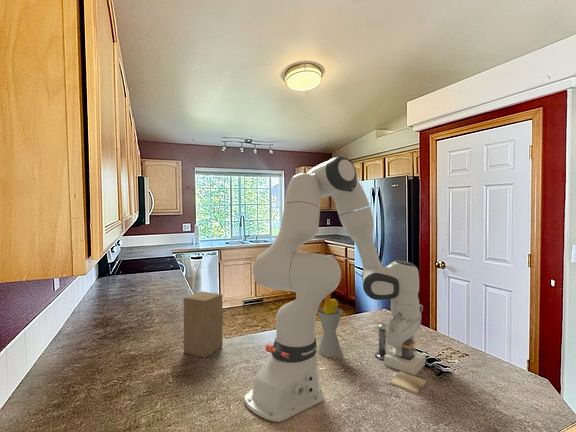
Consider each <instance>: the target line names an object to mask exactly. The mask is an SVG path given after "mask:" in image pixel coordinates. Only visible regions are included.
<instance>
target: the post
mask: <svg viewBox="0 0 576 432" xmlns="http://www.w3.org/2000/svg"><path fill="white" fill-rule="evenodd" d="M387 353H388V352H387V329H386V330H381V329H378V351H376V352H375V353H374V358H376V359H378V360H381V361H384V356H385V355H386V354H387Z"/></svg>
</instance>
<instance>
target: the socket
mask: <svg viewBox="0 0 576 432" xmlns="http://www.w3.org/2000/svg"><path fill="white" fill-rule="evenodd" d="M386 353H387V354H386V355H385V356H384V360H383V365H384V366H386V367H389V368H393V369H394V370H395V369H396V370H398V371H399V372H400V371H401V372H404V373H406V374H409V375H412V376H416V375H417V374H418V373H419V372H420V371H421V370H422V368H424V366H425V365H426V364H425V362H427V354H423V353H421V352H418V351H414V355H413V358H412V359H411V360H406V359H403V358H400V357H397V355H396V349H395V347H394V348H392V349H391V350H390V351H389V352H386Z"/></svg>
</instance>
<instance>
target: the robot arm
mask: <svg viewBox="0 0 576 432" xmlns="http://www.w3.org/2000/svg"><path fill="white" fill-rule="evenodd" d="M357 175H358V174H357V170H356V167H355V164H354V163H353V162H352V161H351V160H350V159H349V158H347V157H345V156H335V157H332V158H330V159H329V160H327V161H324V162H322V163H319V164H317V165H315V166H313V167H312V168H310V170H308V171H306V172H301V173H298V174H295V175H293V176H292V177H291V179H290V180H289V184H288V186H287V189H286V194H285V198H284V202H283V203H284V204H283V212H282V218H281V223H280V228H279V230H278V231H279V232H278V234H277V236H276V238H275V240H274V241H273V242H272V244H271V245H269V247H268V248H267V249H266V250H264V251H263V252H261V253H260V254H258V255H257V257H256V258H255V260H254V262H253V265H252V269H251V270H252V271H251V272H252V277H253V280H254V282H256V284H257V285H258V286H260V287H263V288H266V289H269V290H276V291H286V292H295V299H294V300H292V301H289V302H287V303H285V304H283V305H281V306H280V308H279V309H278V310H277V313H276V316H275V318H276V320H275V321H276V322H275V324H276V329H275V330H276V334H275V335H276V336H275V338H274V341H273V345H272V344H270V343H267V344H266V345H265V347H264V350H265V352H267V353H270V354H271V355H270V356H269V357H268V358H267V360H266V362H265V363H264V364H263V365H262V367H261V368H260V370H259V371H258V372H257V374H255V377H254V379H253V385H252V389H251V390H249V391H248V392H247V393H246V394H244V396H243V402H244V404H245V406H246V408H248V409H249V410H250V411H252V413H254V414H255V415H257V416H259V417H261V418H263V419H265V420H268V421H271V422H274V423H275V422H276V423H277V422H278V423H281V422H284V421H286V420H288V419H290V418H292V417H293V416H296V415H297V414H299V413H301V412H304V411H305V410H307V409H309V408H311V407H314V406H316V405H318V404H320V403H321V402H323V401H324V394H323V393H322V391H321V389H322V387H321V382H320V371H319V366H318V361H317V358H316V353H317V349H318V348H317V347H318V344H317V339H316V319H317V314H318V311H317V310H318V308H320V305H321V303H322V302H323V300H325V297H326V296H327V295H328V294H330V293H331V292H332V293H333V292H335V290H336V289H337V287H338V286H340V285H339V284H340V283H341V280H342V269H341V266H340V264H339V262H338V260H337V259H336V258H335V256H334V257H330V256H327V255H328V254H321V253H314V252H313V253H312V252H311V253H310V252H298V251H299V249H300V248H301V247H302V246H303V245H304V244H305V243H307V242H311V241H312V240H313V239H314V238H315V237H316V236H317V235H318V233H319V225H320V214H321V199H324V198H327V197H331V198H332V200H333V201H334V202H335V203H334V204H335V207H336V211H337V215H338V218H339V221H340V223H341V225H342V228H343V230H344V232H345V233H346V235H347V236H348V237H349V238H350V239H351V240H352V241H353V243H354V244H355V246H356V248H357V251H358V254H359V257H360V261H361V264H362V273H361V274H362V275H361V278H362V280H361V281H362V288H363V291H364V293H365V295H366V296H367V297H369V298H370V299H372V300H373V301H374V300H375V301H384V300H390V314H391V316H392V318H393V319H392V318H391V319H392V320H390V319H389V320H390V322H389V324H388V327H387V332H386V343H387V344H388V346H391V347H394V348H395V349H396V355H397V356H400V357H401V356H402V355H403V350H402V347H401V346H402V344H403V343H404V342H405V341H407V340H408V339H411V340H414V338H415V334H416V333H417V332H418V331H420V328H421V324H422V312H423V309H424V306H423V305H422V304H420V298H419V292H420V274H419V269H418V267H417V266H416V265H415V264H414V263H412V262H410V261H406V260H400V259H397V260H396V259H395V260H394V261H392V262H390V263H389V264H388V265H385V266H384V265H383V264H382V262H381V260H380V257H379V254H378V251H377V248H376V245H375V242H374V228H375V225H374V216H373V213H372V212H373V211H372V208H371V205H370V202H369V199H368V197H367V195H366V192H365V190H364V188H363V187H362V185H361V183H360V182H359V181H358V179H357V177H358V176H357ZM332 293H331V294H332Z"/></svg>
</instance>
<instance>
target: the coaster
mask: <svg viewBox="0 0 576 432" xmlns="http://www.w3.org/2000/svg"><path fill="white" fill-rule="evenodd" d="M427 382H428V381H427V380H426V379H424V378H420V377H418V376H416V375H412V374H409V373H406V372H403V371H400V370H399V372H398V373H397V374H396V375H395V376H393V378H391V380H390V381H389V384H390V385H393V386H396V387H398V388H400V389H403V390H405V391H408V392H410V393H413V394H416V395H418V394H419V392H420V391H421V390H422V389H423V388H424V386H425V385H426V384H427Z"/></svg>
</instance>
